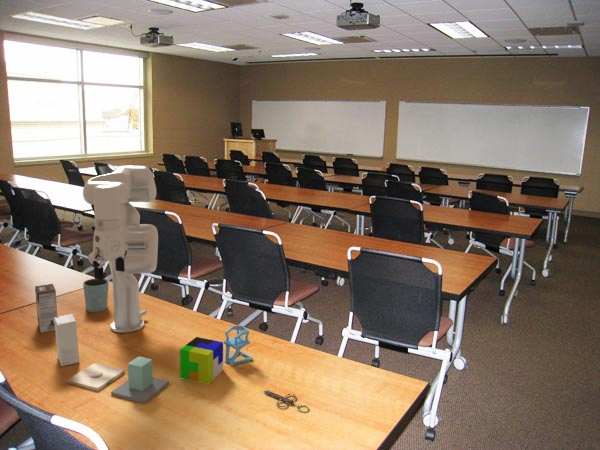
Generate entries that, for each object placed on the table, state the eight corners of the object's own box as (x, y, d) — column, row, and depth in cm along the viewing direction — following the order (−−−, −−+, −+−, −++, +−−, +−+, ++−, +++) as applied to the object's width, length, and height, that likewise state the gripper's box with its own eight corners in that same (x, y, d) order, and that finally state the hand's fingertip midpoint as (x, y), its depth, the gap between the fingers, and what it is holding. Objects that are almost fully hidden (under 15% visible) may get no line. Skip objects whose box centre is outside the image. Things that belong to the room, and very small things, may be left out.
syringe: (266, 386, 153) (266, 381, 152) (314, 406, 143) (314, 401, 143) (250, 397, 147) (251, 392, 146) (300, 418, 137) (300, 413, 136)
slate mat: (137, 376, 155) (137, 372, 155) (169, 383, 151) (169, 380, 151) (111, 394, 144) (111, 391, 144) (144, 403, 140) (144, 400, 140)
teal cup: (92, 303, 214) (91, 277, 212) (114, 305, 213) (113, 279, 210) (79, 311, 204) (77, 284, 202) (102, 313, 203) (100, 286, 201)
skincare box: (79, 362, 162) (77, 321, 159) (60, 367, 159) (57, 324, 156) (75, 352, 169) (73, 312, 166) (56, 356, 166) (53, 316, 163)
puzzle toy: (223, 370, 161) (223, 342, 159) (207, 384, 152) (207, 355, 150) (196, 364, 164) (196, 336, 162) (180, 378, 155) (179, 349, 153)
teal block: (139, 380, 151) (138, 356, 149) (153, 383, 149) (152, 359, 147) (128, 387, 146) (127, 363, 144) (142, 391, 144) (141, 366, 143)
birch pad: (95, 365, 161) (94, 362, 160) (124, 372, 157) (124, 369, 157) (66, 382, 150) (66, 379, 149) (97, 391, 146) (97, 387, 145)
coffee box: (37, 324, 190) (34, 285, 187) (55, 321, 194) (52, 283, 191) (40, 333, 183) (37, 293, 180) (59, 329, 187) (56, 290, 183)
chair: (220, 360, 168) (220, 328, 165) (238, 352, 174) (239, 321, 171) (234, 368, 162) (234, 335, 160) (253, 359, 168) (253, 327, 166)
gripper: (97, 230, 146) (100, 284, 149) (135, 220, 162) (136, 269, 165) (77, 227, 148) (80, 280, 152) (116, 218, 164) (118, 266, 168)
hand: (110, 274), depth 159 cm, fingers open, 9 cm apart
